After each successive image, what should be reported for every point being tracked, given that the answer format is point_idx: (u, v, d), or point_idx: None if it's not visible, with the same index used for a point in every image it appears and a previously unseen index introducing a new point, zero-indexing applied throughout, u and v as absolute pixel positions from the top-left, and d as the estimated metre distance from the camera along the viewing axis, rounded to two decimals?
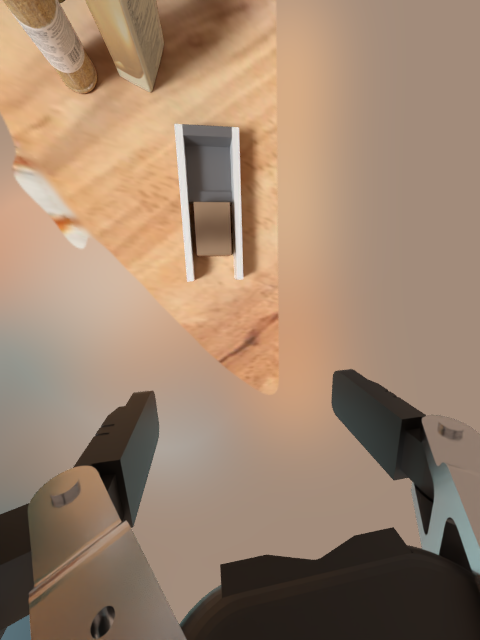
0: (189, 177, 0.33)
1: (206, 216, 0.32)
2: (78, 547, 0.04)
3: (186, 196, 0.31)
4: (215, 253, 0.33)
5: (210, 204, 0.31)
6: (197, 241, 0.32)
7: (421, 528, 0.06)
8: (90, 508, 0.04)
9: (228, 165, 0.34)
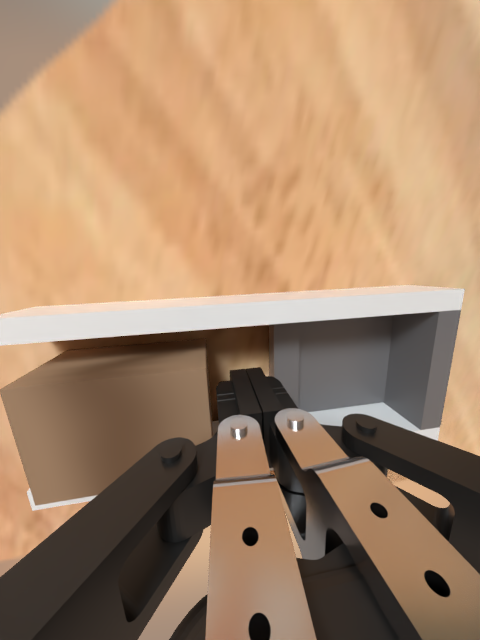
0: None
1: (162, 414, 0.09)
2: (241, 473, 0.05)
3: (289, 319, 0.10)
4: (24, 454, 0.08)
5: (202, 421, 0.09)
6: (59, 388, 0.08)
7: (296, 532, 0.06)
8: (251, 451, 0.06)
9: (350, 402, 0.14)
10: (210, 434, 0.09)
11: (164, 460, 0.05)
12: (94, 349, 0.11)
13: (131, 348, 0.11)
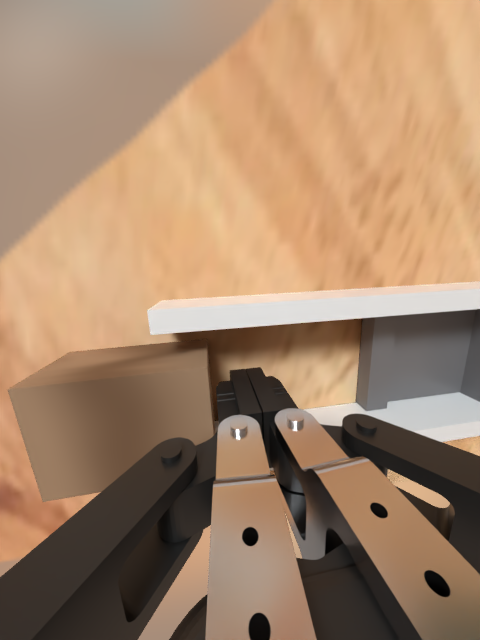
0: None
1: (165, 412, 0.09)
2: (241, 473, 0.05)
3: (409, 311, 0.11)
4: (32, 452, 0.09)
5: (204, 419, 0.09)
6: (65, 388, 0.08)
7: (296, 531, 0.06)
8: (251, 451, 0.06)
9: (430, 392, 0.15)
10: (212, 432, 0.10)
11: (164, 460, 0.05)
12: (98, 349, 0.12)
13: (135, 348, 0.12)
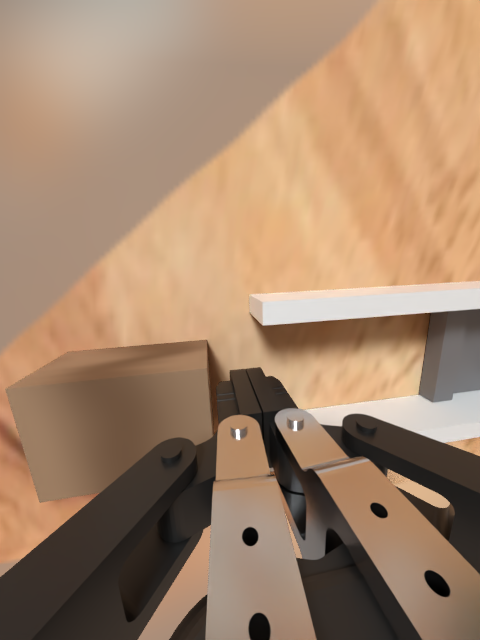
0: None
1: (164, 413, 0.09)
2: (241, 473, 0.05)
3: None
4: (29, 452, 0.08)
5: (203, 420, 0.09)
6: (64, 388, 0.08)
7: (296, 531, 0.06)
8: (251, 451, 0.06)
9: None
10: (211, 433, 0.09)
11: (164, 460, 0.05)
12: (97, 349, 0.12)
13: (134, 348, 0.12)
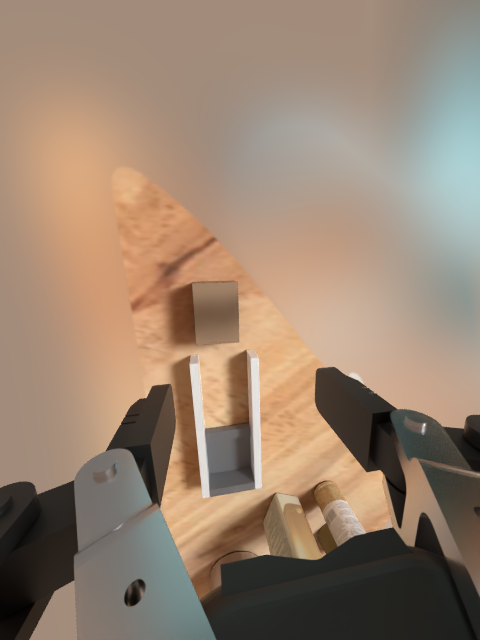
0: (248, 444, 0.34)
1: (224, 328, 0.26)
2: (115, 522, 0.04)
3: (254, 437, 0.31)
4: (213, 284, 0.25)
5: (219, 341, 0.26)
6: (236, 298, 0.25)
7: (394, 521, 0.06)
8: (126, 488, 0.05)
9: (210, 460, 0.33)
10: (214, 343, 0.26)
11: None
12: None
13: None
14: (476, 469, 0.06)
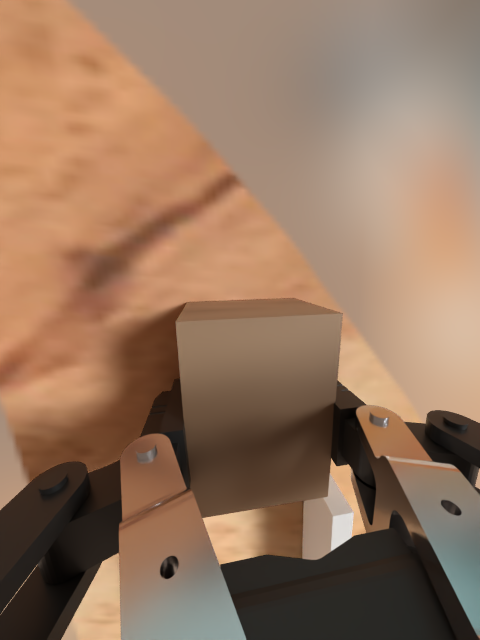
0: None
1: (284, 462, 0.08)
2: (153, 500, 0.05)
3: None
4: (258, 323, 0.07)
5: (268, 500, 0.08)
6: (332, 369, 0.07)
7: (365, 518, 0.06)
8: (163, 470, 0.05)
9: None
10: (250, 509, 0.08)
11: (41, 491, 0.05)
12: None
13: None
14: (432, 462, 0.06)
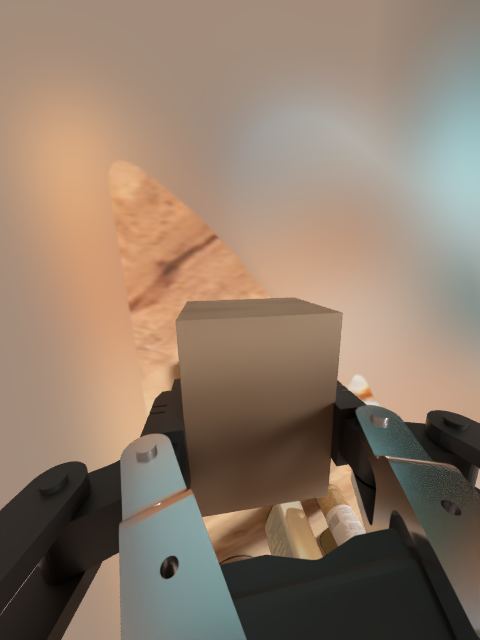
0: None
1: (284, 461, 0.08)
2: (153, 500, 0.05)
3: None
4: (258, 322, 0.07)
5: (268, 499, 0.08)
6: (332, 369, 0.07)
7: (365, 518, 0.06)
8: (163, 470, 0.05)
9: None
10: (250, 508, 0.08)
11: (41, 490, 0.05)
12: None
13: None
14: (432, 462, 0.06)
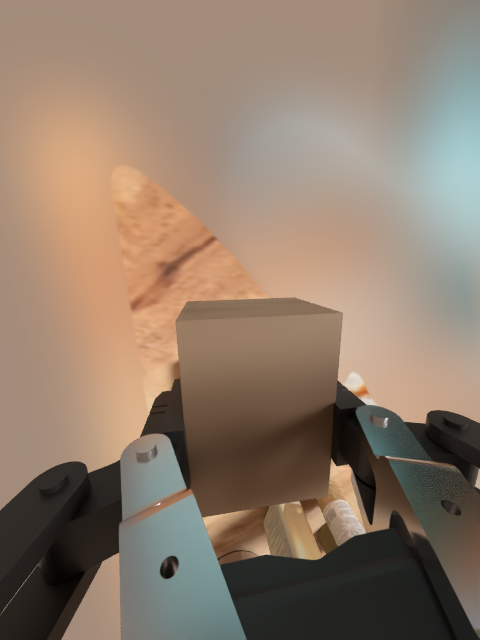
0: None
1: (284, 462, 0.08)
2: (153, 500, 0.05)
3: None
4: (258, 322, 0.07)
5: (268, 499, 0.08)
6: (332, 369, 0.07)
7: (365, 518, 0.06)
8: (164, 470, 0.05)
9: None
10: (250, 508, 0.08)
11: (41, 490, 0.05)
12: None
13: None
14: (432, 462, 0.06)
